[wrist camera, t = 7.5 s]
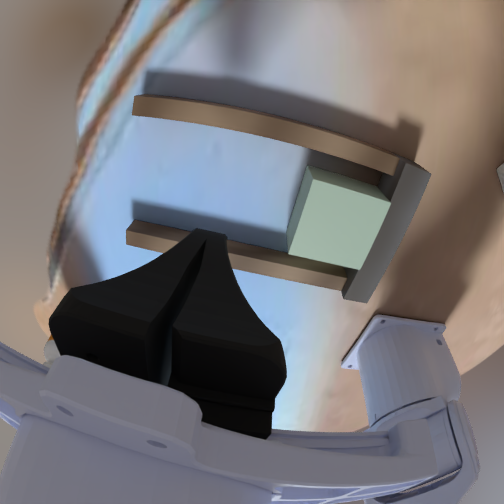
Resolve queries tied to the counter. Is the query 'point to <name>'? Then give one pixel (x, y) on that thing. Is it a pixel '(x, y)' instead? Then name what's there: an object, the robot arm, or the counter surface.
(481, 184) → the counter surface
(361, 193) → the block
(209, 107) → the guide channel
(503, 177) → the supplement box
